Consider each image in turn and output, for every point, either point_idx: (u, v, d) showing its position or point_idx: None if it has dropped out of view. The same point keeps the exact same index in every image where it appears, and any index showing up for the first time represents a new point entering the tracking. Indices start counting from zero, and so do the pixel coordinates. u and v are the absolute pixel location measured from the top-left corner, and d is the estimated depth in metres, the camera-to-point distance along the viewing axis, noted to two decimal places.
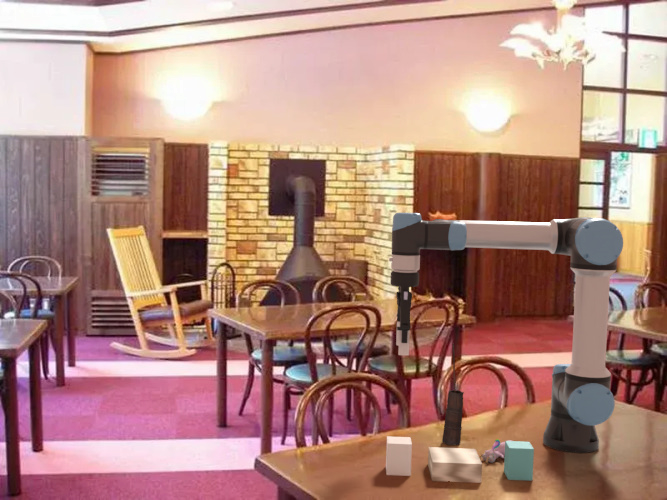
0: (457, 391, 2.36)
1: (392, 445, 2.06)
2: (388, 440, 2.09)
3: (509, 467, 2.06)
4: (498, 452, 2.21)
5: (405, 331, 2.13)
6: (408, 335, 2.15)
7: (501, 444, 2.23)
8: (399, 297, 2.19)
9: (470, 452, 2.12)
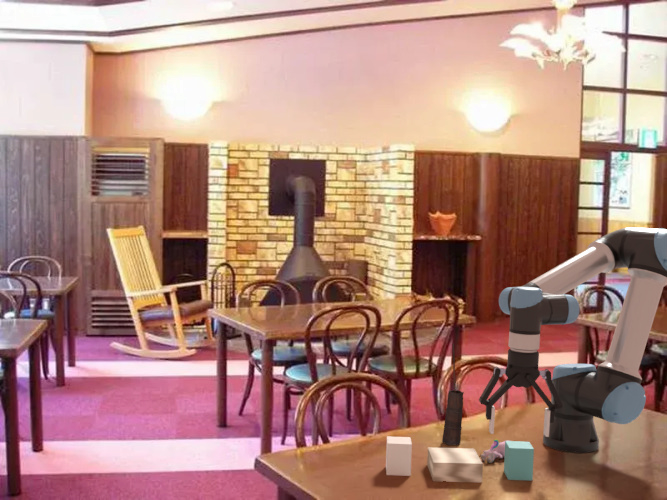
0: (457, 391, 2.36)
1: (392, 445, 2.06)
2: (388, 440, 2.09)
3: (509, 467, 2.06)
4: (497, 452, 2.21)
5: (486, 406, 2.07)
6: (491, 412, 2.07)
7: (499, 444, 2.23)
8: None
9: (469, 452, 2.12)
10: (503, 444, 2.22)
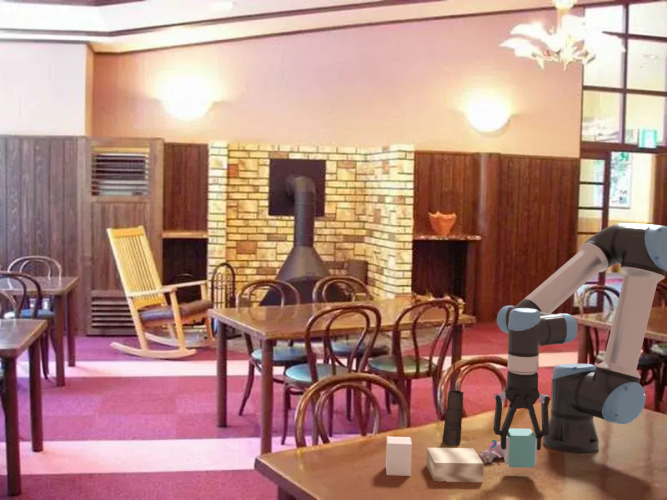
0: (457, 391, 2.36)
1: (392, 445, 2.06)
2: (388, 440, 2.09)
3: (511, 454, 2.06)
4: (495, 452, 2.21)
5: (501, 436, 2.08)
6: (506, 442, 2.07)
7: (497, 444, 2.23)
8: None
9: (469, 452, 2.12)
10: None
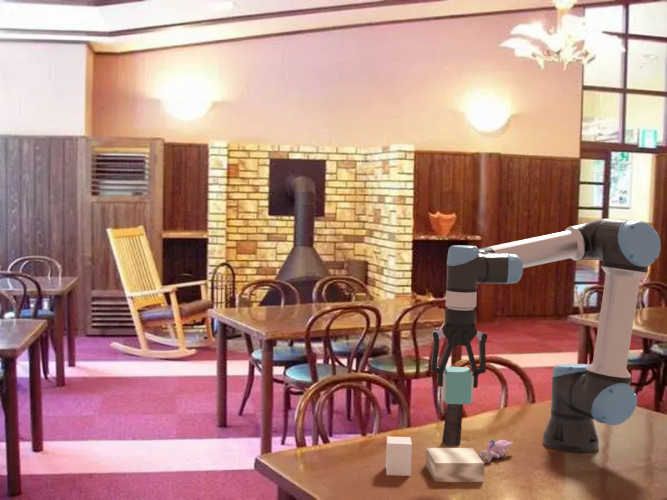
0: None
1: (392, 445, 2.06)
2: (388, 440, 2.09)
3: (447, 391, 2.05)
4: (493, 452, 2.21)
5: (438, 373, 2.07)
6: (443, 379, 2.07)
7: (495, 444, 2.23)
8: None
9: (468, 451, 2.12)
10: (499, 444, 2.23)
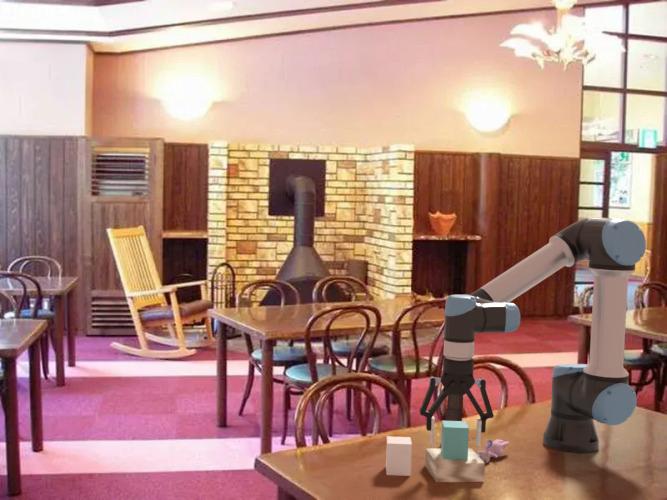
0: None
1: (392, 445, 2.06)
2: (388, 440, 2.09)
3: (444, 446, 2.06)
4: (490, 452, 2.21)
5: (426, 417, 2.08)
6: (431, 423, 2.07)
7: (492, 444, 2.23)
8: None
9: (468, 452, 2.12)
10: (496, 443, 2.23)
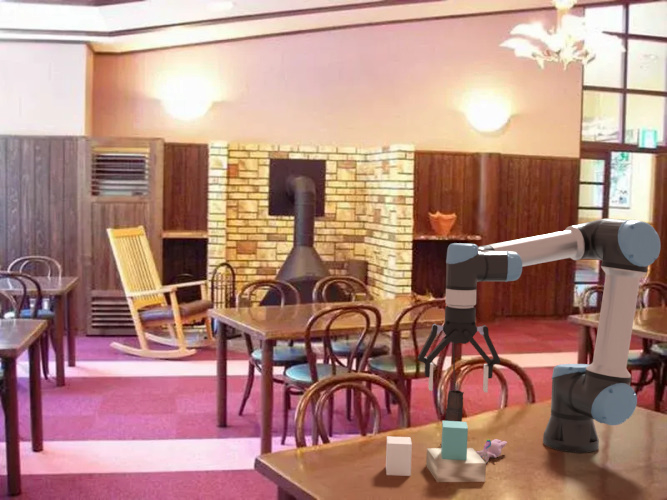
0: (457, 391, 2.36)
1: (392, 445, 2.06)
2: (388, 440, 2.09)
3: (443, 446, 2.06)
4: (489, 452, 2.21)
5: None
6: (430, 369, 2.07)
7: (491, 444, 2.23)
8: None
9: (469, 451, 2.12)
10: (494, 443, 2.23)
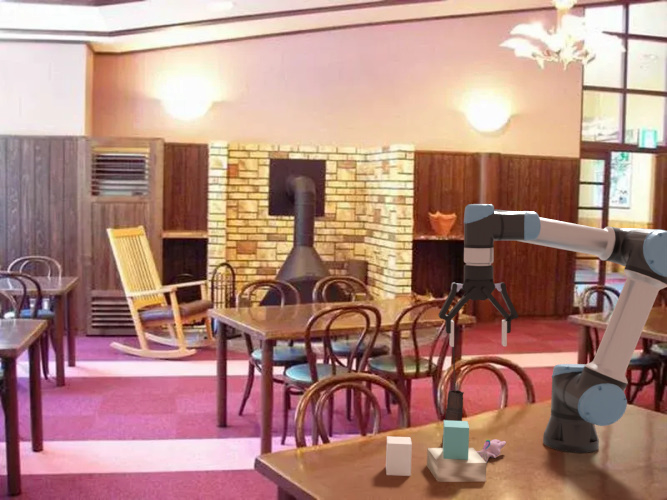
0: (457, 391, 2.36)
1: (392, 445, 2.06)
2: (388, 440, 2.09)
3: (444, 446, 2.06)
4: (488, 452, 2.21)
5: None
6: (451, 326, 2.14)
7: (490, 444, 2.23)
8: None
9: (469, 451, 2.12)
10: (493, 443, 2.23)
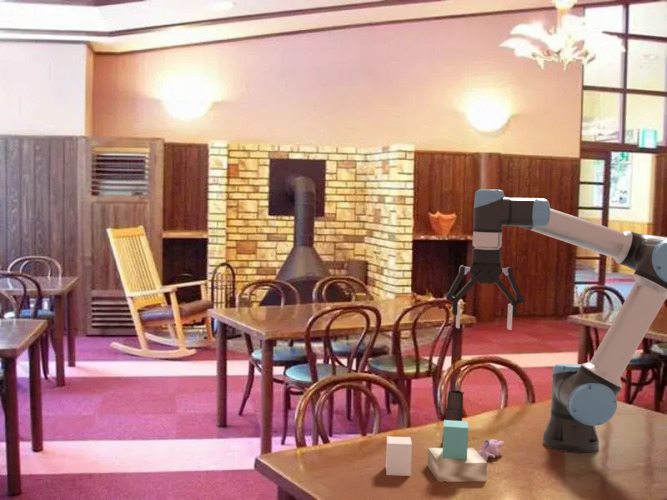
0: (457, 391, 2.36)
1: (392, 445, 2.06)
2: (388, 440, 2.09)
3: (443, 445, 2.06)
4: (487, 452, 2.21)
5: (452, 303, 2.20)
6: (457, 308, 2.19)
7: (488, 444, 2.23)
8: None
9: (470, 451, 2.12)
10: (492, 443, 2.23)
